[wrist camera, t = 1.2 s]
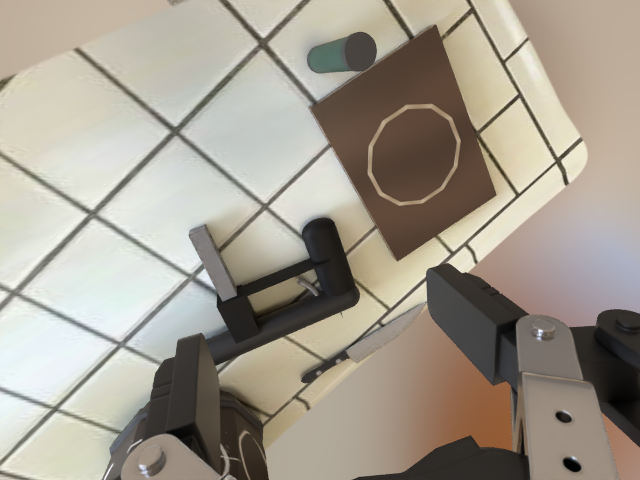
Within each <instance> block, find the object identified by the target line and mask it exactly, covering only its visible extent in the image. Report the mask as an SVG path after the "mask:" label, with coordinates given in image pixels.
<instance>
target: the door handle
mask: <svg viewBox="0 0 640 480" xmlns="http://www.w3.org/2000/svg"><path fill="white" fill-rule="evenodd" d="M302 237H303V239H304V242H305V245H306V247H307V250H308V253H309V255H310V258H309V259H307V260H304V261H302V262H299V263H297V264H295V265H292V266H290V267H287V268H285V269H282V270H280V271H278V272H275V273H273V274H270V275H268V276H265V277H263V278H260V279H258V280H256V281H253V282H251V283H248V284H246V285H243V286H242V285H239V286H237V287H236V286H235V284H234V282H233V280H232V278H231V276H230V273H229V271H228V269H227V267H226V265H225V263H224V261H223V259H222V257H221V255H220V253H219V251H218V249H217V247H216V245H215V243H214V241H213V239H212V236H211V234H210V232H209V230H208V228H207V226H206V225H203V226H201V227H198V228H195V229H193V230H190V232H189V238H190V239H191V241H192V243H193V245H194V247H195V249H196V251H197V253H198V255H199V257H200V259H201V261H202V263H203V265H204V267H205V269H206V271H207V273H208V275H209V277H210V278H211V280H212V282H213V284H214V286H215V288H216V290H217V292H218V294H217V308H218V310H219V312H220V314H221V316H222V318H223V320H224V322H225V323H226V325H227V327H228V329H229V331H227V332H224V333H222V334H220V335H217V336H215V337H213V338H210V339H208V340H206V343H207V345H208V348H209V351H210V354H211V356H212V359H213V362H214V364H215V366H216V365H219V364H221V363H223V362H226V361H228V360H230V359H233V358H235V357H237V356H239V355H242V354H244V353H246V352H249V351H251V350H253V349H256V348H258V347H260V346H263V345H265V344H267V343H270V342H272V341H274V340H277V339H279V338H281V337H284V336H286V335H288V334H291V333H293V332H295V331H298V330H300V329H302V328H305V327H307V326H309V325H312V324H314V323H316V322H319V321H321V320H323V319H326V318H328V317H330V316H332V315H335V314H337V313H339V312H340V313H341V312H342V311H344V310H346V309H349V308H351V307H353V306H355V305H356V304H357V303H358V301H359V298H360V293H359V290H358V288H357V286H356V285H355V282H354V279H353V276H352V273H351V270H350V267H349V264H348V261H347V258H346V255H345V252H344V249H343V246H342V243H341V240H340V237H339V234H338V231H337V228H336V225H335V223H334V221H333V220H331V219H329V218H318V219H315V220H313V221H311V222H309V223H308V224H307V225H306V226H305V227H304V229H303V231H302ZM312 269H315V271H316V274H317V276H318V279H319V282H320V284H321V287H322V290H323V291H322V292H319V293H318V291H317V290H316V288H315V287H314V286H313V285H311V284H310V283H309V282H307V281H305V280H304V279H301V278H299V279H298V281H297V283H298V284H300V285H302V286H304V287H306V288H307V289H309V290H310V291H311V292H312V293H313V294H314V295H312V296H310V297H307V298H305V299H303V300H300V301H298V302H296V303H293V304H291V305H288V306H286V307H284V308H281V309H279V310H277V311H274V312H272V313H269V314H267V315H265V316H262V317H260V318H257V316H256V314H255V312H254V310H253V308H252V306H251V303H250V301H249V299H248V297H247V296H249V295H251V294H254V293H256V292H259V291H261V290H263V289H266V288H268V287H271V286H273V285H276V284H278V283H280V282H283V281H285V280H288V279H290V278H292V277H295V276H297V275H300V274H302V273H305V272H307V271H309V270H312ZM341 315H342V313H341Z"/></svg>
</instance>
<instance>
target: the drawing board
mask: <svg viewBox="0 0 640 480" xmlns="http://www.w3.org/2000/svg"><path fill="white" fill-rule="evenodd" d="M309 110H310V111H311V113H312V115H313V117H314V118H315V120H316V122H317V124H318V125H319V127H320V129H321V131H322V132H323V134H324V136H325V138H326V139H327V141H328V143H329V145H330V146H331V148H332V150H333V152H334V154H335V155H336V157H337V159H338V161H339V162H340V164H341V166H342V168H343V169H344V171H345V173H346V175H347V176H348V178H349V180H350V182H351V183H352V185H353V187H354V189H355V191H356V192H357V194H358V196H359V198H360V199H361V201H362V203H363V205H364V206H365V208H366V210H367V212H368V213H369V215H370V217H371V219H372V220H373V222H374V224H375V226H376V227H377V229H378V231H379V233H380V235H381V236H382V238H383V240H384V242H385V243H386V245H387V247H388V249H389V250H390V252H391V254H392V256H393V257H394V259H395V260H396V261H399V260H401V259H402V258H404V257H405V256H407V255H408V254H410V253H411V252H413V251H414V250H416V249H417V248H419V247H420V246H422V245H423V244H425V243H426V242H427V241H429V240H430V239H432V238H433V237H435V236H436V235H438V234H439V233H441V232H442V231H444V230H445V229H447V228H448V227H450V226H451V225H453V224H454V223H456V222H457V221H459V220H460V219H462V218H463V217H465V216H466V215H468V214H469V213H471V212H472V211H474V210H475V209H477V208H478V207H480V206H481V205H483V204H484V203H486V202H487V201H489V200H490V199H492V198H493V197H495V196H496V192H495V189H494V186H493V183H492V181H491V178H490V175H489V172H488V169H487V166H486V164H485V161H484V158H483V155H482V152H481V150H480V147H479V144H478V141H477V138H476V135H475V133H474V130H473V127H472V124H471V121H470V119H469V116H468V113H467V110H466V107H465V104H464V102H463V99H462V96H461V93H460V90H459V87H458V85H457V82H456V79H455V76H454V73H453V71H452V68H451V65H450V62H449V59H448V56H447V54H446V51H445V48H444V45H443V42H442V40H441V37H440V34H439V31H438V28H437V25H432V26H430V27H428V28H427V29H425V30H424V31H422V32H421V33H419V34H418V35H416V36H415V37H413V38H412V39H410V40H409V41H407V42H406V43H404V44H403V45H401V46H400V47H398V48H397V49H395V50H394V51H392V52H391V53H389V54H388V55H386V56H385V57H383V58H382V59H380V60H379V61H377V62H376V63H374V64H373V65H372V66H371V67H369V68H368V69H366V70H364V71H363V72H361V73H360V74H358V75H357V76H355V77H354V78H352V79H351V80H349V81H348V82H346V83H345V84H343V85H342V86H340V87H339V88H337V89H336V90H334V91H333V92H331V93H330V94H328V95H327V96H325V97H324V98H322V99H321V100H319V101H318V102H316V103H315V104H313V105H312V106H310V107H309Z"/></svg>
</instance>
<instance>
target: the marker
mask: <svg viewBox="0 0 640 480" xmlns="http://www.w3.org/2000/svg"><path fill="white" fill-rule="evenodd" d="M376 54H377V48H376V44H375V41H374V40H373V38H372V37H371V36H370V35H369V34H367V33H364V32H357V33H354V34H351V35H349V36H347V37H344V38H341V39H338V40H335V41H332V42H329V43H326V44H323V45H320V46H317V47H314V48H313V49H311V50H310V52H309V54H308V57H307V62H308V65H309V67H310V69H311V70H312V71H314V72H316V73H329V72H344V71H364V70H366V69H368V68H369V67H371V65H372V64H373V63H374V61H375V58H376Z"/></svg>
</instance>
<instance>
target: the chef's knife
mask: <svg viewBox="0 0 640 480" xmlns="http://www.w3.org/2000/svg"><path fill="white" fill-rule="evenodd" d="M426 303H427V302H425V303H423V304H421V305H419V306H417V307H416V308H414V309H412V310H411V311H409V312H407V313H405V314H404V315H402V316H400V317H399V318H397V319H395V320H394V321H392V322H391V323H389V324H387V325H386V326H384V327H382V328H381V329H379V330H377V331H376V332H374V333H373V334H371V335H369V336H368V337H366V338H364V339H363V340H361V341H360V342H358V343H356V344H355V345H353V346H352V347H350V348H348V349H347V350H345V351H343V352H341V353H340V354H338V355H337V356H335V357H334V358H332V359H331V360H329V361H327V362H326V363H324V364H322V365H321V366H319V367H318V368H316V369H314V370H313V371H311V372H309V373H307V374H306V375H305V376H304V377H303V378H302V380H301V382H303V383H310V382H312V381H313V380H314V379H315V378H316V377H317V376H319V375H320V374H322V373H323V372H325V371H326V370H328V369H330V368H331V367H333V366H335V365H337V364H339V363H341V362H342V361H344V360H346V359H349V358H351V359H352V360H353V361H354V362H356V363H358V362H360V361H361V360H363V359H364V358H366V357H367V356H369V355H370V354H372V353H374V352H375V351H377V350H378V349H380V348H381V347H383V346H384V345H386V344H387V343H389V342H390V341H392V340H393V339H395V338H396V337H397V336H398V335H399V334H401V333H402V332H403V331H404V330H405V329H406V328H407V327H408V326H409V325H410V324H411V323H412V322H413V321H414V320H415V319H416V317H417V316H418V315H419V314H420V313H421V311H422V309H423V308H424V306H425V304H426Z"/></svg>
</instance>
